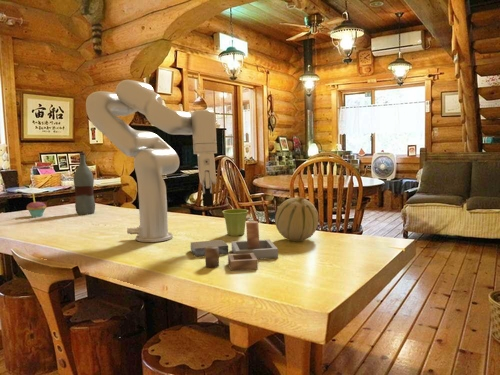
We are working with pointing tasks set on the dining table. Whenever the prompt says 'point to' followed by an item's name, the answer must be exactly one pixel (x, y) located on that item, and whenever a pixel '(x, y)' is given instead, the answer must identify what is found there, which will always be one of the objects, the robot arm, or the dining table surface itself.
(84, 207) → the bottle
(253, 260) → the socket block
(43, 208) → the cupcake
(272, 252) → the tray
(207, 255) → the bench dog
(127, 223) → the dining table surface
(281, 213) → the cantaloupe
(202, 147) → the robot arm
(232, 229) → the plant pot
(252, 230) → the dowel
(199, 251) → the grey rectangular block
